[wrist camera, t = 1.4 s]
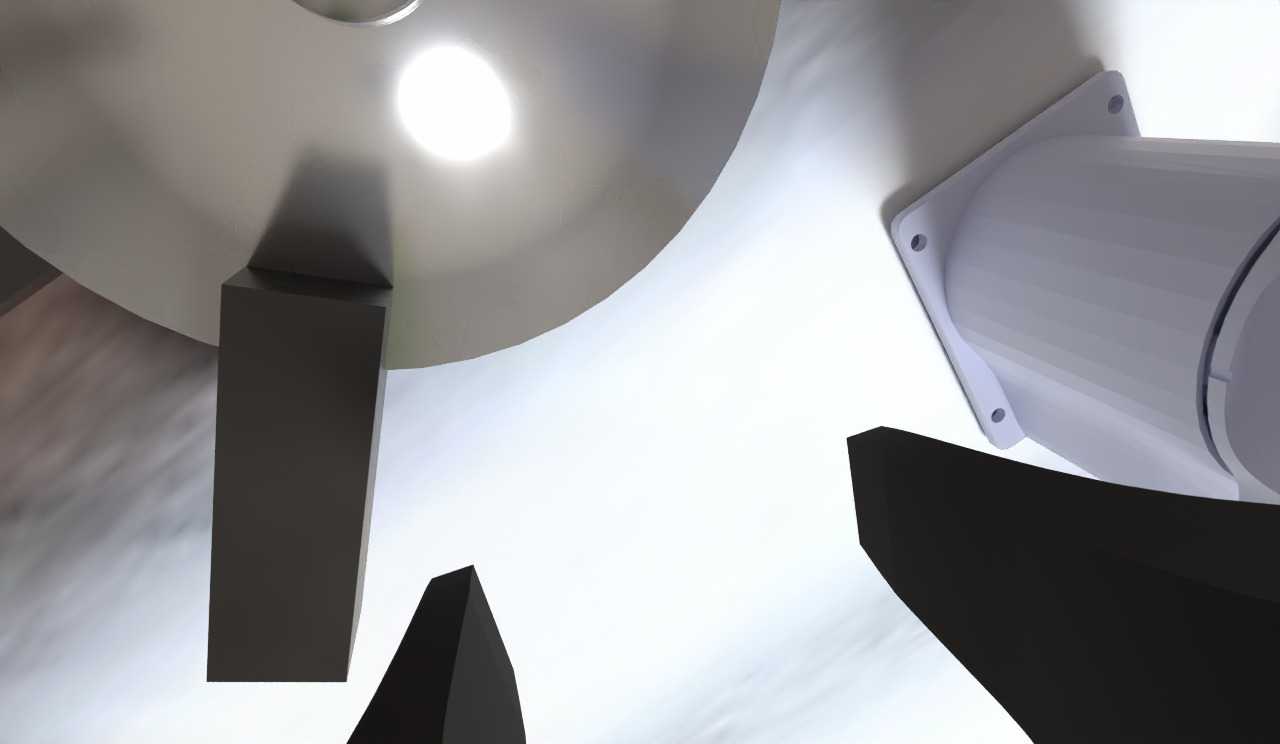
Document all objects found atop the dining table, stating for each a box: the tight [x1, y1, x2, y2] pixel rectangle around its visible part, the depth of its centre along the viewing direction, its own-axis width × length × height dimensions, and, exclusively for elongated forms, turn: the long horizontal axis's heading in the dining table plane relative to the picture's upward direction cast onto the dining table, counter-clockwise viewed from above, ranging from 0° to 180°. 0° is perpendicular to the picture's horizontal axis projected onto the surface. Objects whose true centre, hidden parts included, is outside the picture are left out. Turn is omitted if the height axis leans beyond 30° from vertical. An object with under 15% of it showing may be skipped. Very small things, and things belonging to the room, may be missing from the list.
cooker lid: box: [0, 0, 781, 682], centre depth 12 cm, size 20×14×2 cm
